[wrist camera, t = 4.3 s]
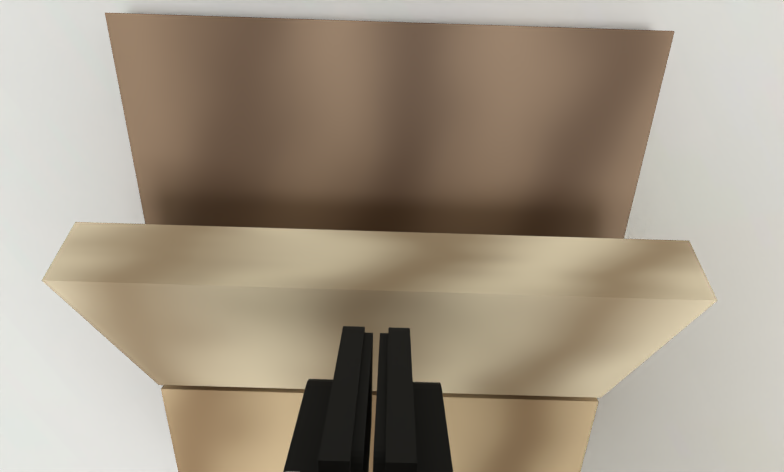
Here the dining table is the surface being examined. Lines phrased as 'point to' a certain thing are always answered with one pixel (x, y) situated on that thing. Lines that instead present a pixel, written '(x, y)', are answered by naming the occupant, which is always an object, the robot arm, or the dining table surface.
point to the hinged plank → (380, 303)
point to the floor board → (385, 174)
